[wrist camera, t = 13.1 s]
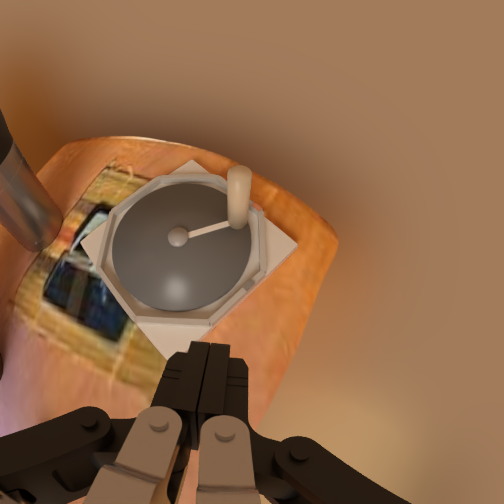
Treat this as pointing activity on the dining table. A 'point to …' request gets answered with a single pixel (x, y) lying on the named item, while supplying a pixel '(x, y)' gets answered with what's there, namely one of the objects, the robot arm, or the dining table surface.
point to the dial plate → (206, 318)
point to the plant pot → (1, 366)
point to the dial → (185, 243)
